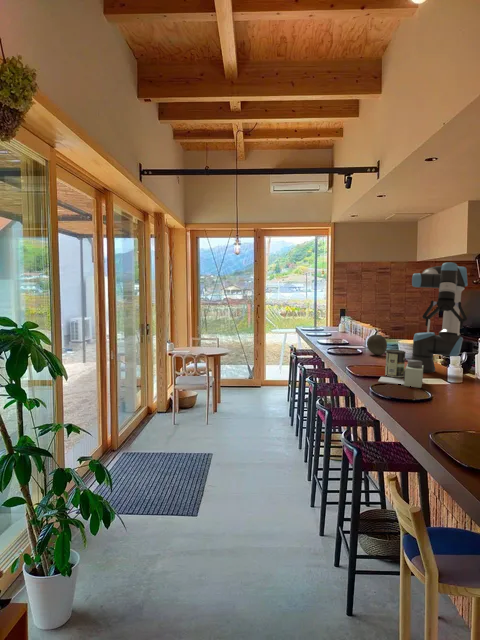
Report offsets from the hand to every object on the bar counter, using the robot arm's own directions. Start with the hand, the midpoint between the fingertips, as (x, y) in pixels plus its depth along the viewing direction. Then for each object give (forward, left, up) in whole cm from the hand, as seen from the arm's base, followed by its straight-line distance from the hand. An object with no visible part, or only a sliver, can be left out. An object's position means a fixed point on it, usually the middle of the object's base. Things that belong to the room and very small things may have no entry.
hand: (442, 333), depth 221 cm
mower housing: (+10, -16, -28) cm, 34 cm away
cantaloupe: (-28, -99, -28) cm, 107 cm away
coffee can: (+3, -32, -28) cm, 43 cm away
